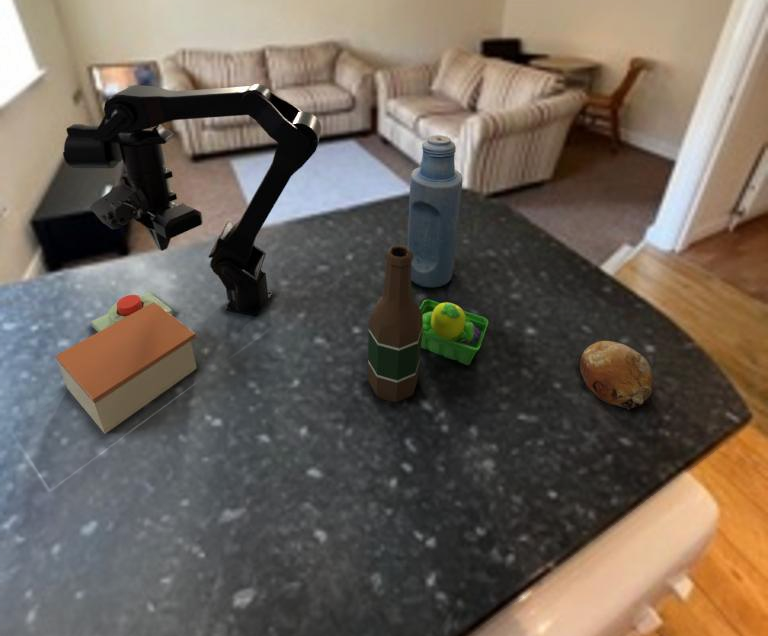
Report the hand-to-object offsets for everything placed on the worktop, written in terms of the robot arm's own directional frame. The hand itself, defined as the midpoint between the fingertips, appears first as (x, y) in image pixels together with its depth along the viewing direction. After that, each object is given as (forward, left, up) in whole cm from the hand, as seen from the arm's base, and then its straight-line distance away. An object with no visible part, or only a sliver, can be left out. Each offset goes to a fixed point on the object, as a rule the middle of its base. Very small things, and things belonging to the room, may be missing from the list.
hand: (163, 249), depth 78 cm
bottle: (-44, -22, -12) cm, 51 cm away
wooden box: (-5, +16, -12) cm, 21 cm away
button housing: (+4, +6, -12) cm, 14 cm away
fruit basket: (-50, -3, -12) cm, 52 cm away
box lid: (-5, +16, -6) cm, 18 cm away
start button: (+4, +6, -9) cm, 12 cm away
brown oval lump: (-76, -3, -12) cm, 77 cm away
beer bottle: (-43, +6, -12) cm, 45 cm away
